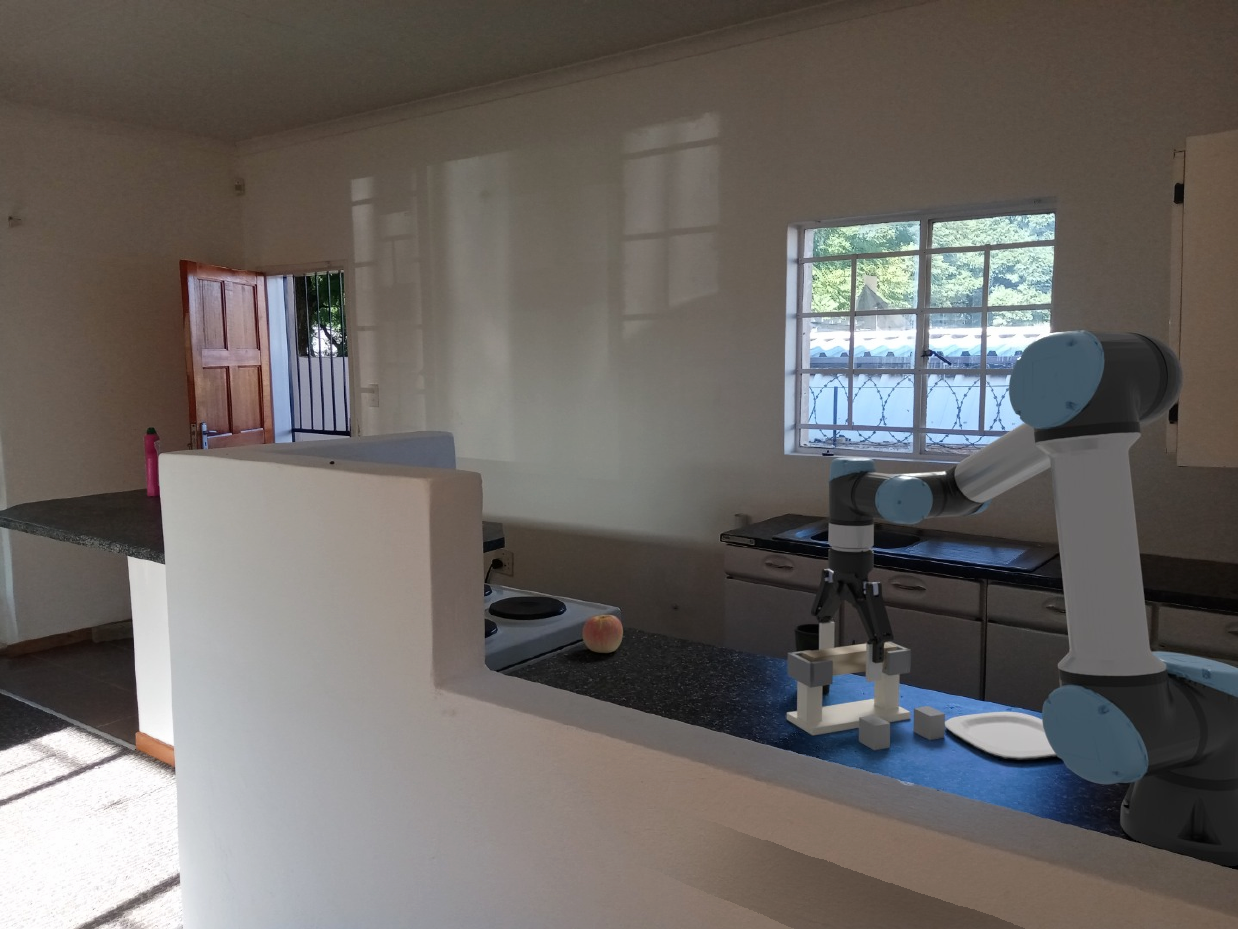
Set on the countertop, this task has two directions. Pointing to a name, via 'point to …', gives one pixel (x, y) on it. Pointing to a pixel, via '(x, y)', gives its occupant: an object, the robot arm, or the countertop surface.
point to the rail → (846, 657)
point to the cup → (809, 642)
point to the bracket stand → (847, 714)
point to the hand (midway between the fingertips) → (849, 669)
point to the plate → (1003, 734)
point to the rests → (925, 724)
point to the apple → (603, 633)
